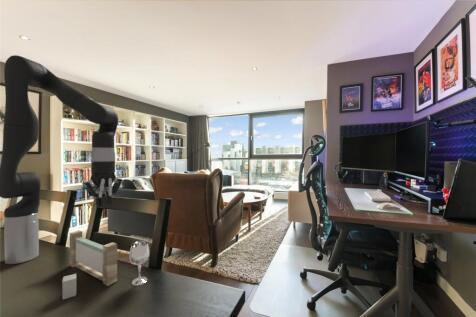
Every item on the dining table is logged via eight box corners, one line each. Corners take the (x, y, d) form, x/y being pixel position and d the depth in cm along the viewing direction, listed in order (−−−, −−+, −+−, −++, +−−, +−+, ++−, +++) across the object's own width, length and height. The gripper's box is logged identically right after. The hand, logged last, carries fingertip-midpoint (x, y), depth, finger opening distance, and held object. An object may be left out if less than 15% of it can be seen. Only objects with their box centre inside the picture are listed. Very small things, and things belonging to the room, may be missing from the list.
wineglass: (141, 287, 65) (141, 248, 64) (125, 285, 66) (125, 247, 65) (153, 277, 70) (153, 241, 70) (137, 275, 71) (137, 239, 71)
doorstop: (76, 290, 63) (76, 273, 63) (76, 295, 61) (75, 278, 61) (63, 293, 62) (63, 276, 61) (62, 299, 59) (62, 281, 59)
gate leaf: (110, 273, 69) (110, 248, 69) (104, 276, 67) (104, 250, 67) (81, 259, 78) (81, 237, 78) (75, 262, 76) (75, 238, 76)
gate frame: (69, 265, 77) (69, 232, 77) (79, 262, 80) (79, 230, 79) (107, 286, 65) (107, 247, 65) (117, 280, 68) (117, 243, 68)
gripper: (116, 159, 87) (116, 201, 87) (77, 160, 75) (77, 209, 75) (127, 160, 83) (127, 204, 83) (88, 160, 71) (88, 212, 71)
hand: (103, 206), depth 79 cm, fingers closed
